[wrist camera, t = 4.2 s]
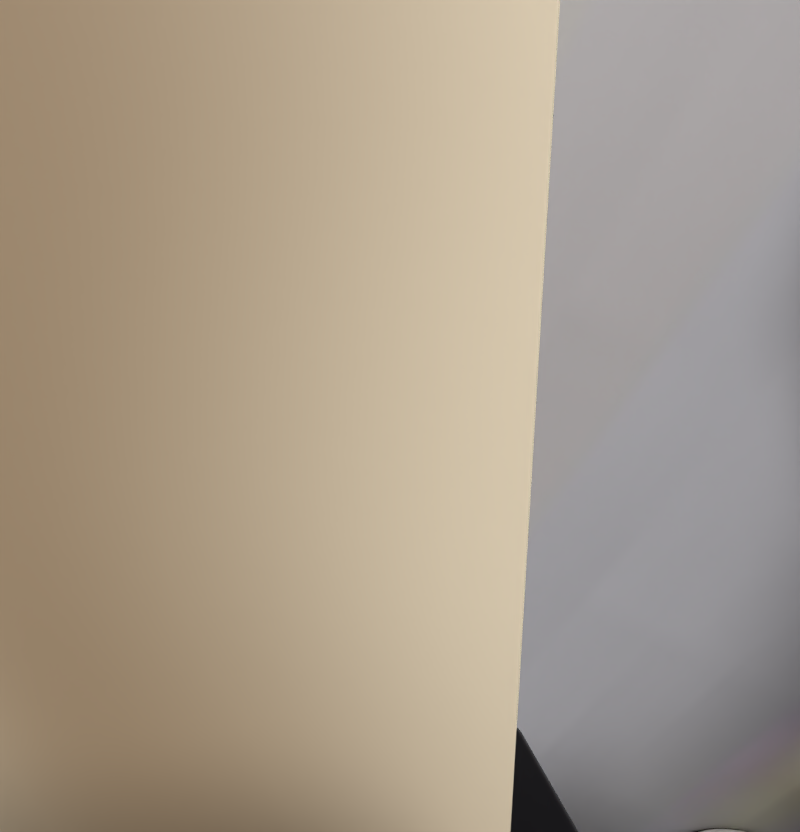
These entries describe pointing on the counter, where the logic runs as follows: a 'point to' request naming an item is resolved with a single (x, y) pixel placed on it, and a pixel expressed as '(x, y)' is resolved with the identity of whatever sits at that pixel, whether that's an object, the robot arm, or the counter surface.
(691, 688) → the counter surface
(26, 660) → the beam
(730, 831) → the supplement bottle
